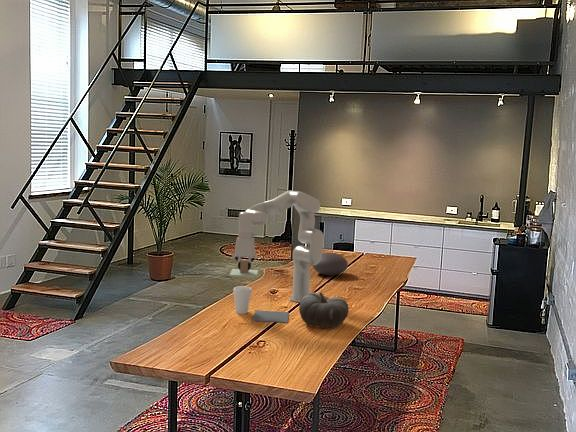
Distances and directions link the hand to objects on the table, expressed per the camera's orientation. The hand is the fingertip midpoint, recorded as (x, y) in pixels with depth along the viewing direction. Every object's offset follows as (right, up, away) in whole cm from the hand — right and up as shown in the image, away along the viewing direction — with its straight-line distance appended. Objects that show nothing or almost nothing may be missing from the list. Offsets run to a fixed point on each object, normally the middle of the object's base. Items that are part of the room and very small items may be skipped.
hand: (244, 269), depth 334 cm
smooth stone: (+51, -12, +101) cm, 114 cm away
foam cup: (-2, -23, +3) cm, 24 cm away
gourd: (+41, -27, -12) cm, 50 cm away
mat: (+14, -25, -3) cm, 29 cm away
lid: (0, -2, 0) cm, 2 cm away
